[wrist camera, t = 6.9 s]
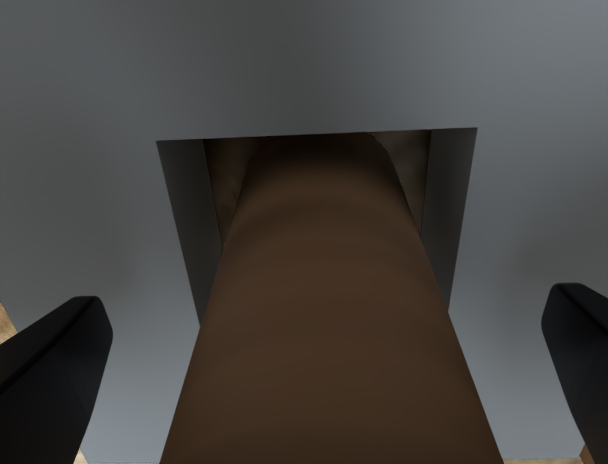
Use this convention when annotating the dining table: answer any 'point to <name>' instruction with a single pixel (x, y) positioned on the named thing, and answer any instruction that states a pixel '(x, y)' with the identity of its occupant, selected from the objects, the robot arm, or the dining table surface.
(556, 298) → the robot arm
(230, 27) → the grey square frame
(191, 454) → the long dowel
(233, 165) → the dining table surface
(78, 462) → the dining table surface
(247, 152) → the dining table surface
